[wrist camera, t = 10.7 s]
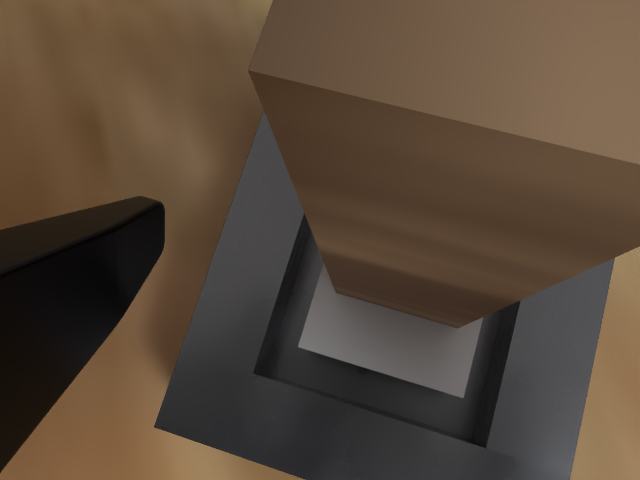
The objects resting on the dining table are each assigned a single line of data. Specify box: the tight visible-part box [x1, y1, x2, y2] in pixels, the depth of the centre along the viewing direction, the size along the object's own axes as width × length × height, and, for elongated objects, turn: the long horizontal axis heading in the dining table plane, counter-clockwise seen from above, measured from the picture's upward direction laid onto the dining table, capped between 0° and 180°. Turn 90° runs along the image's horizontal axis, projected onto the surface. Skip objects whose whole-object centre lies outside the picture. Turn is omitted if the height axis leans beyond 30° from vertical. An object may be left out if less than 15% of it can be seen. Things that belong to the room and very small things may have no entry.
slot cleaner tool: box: [248, 0, 640, 398], centre depth 10 cm, size 6×4×14 cm, turn 163°
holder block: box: [154, 112, 615, 480], centre depth 16 cm, size 12×10×3 cm
